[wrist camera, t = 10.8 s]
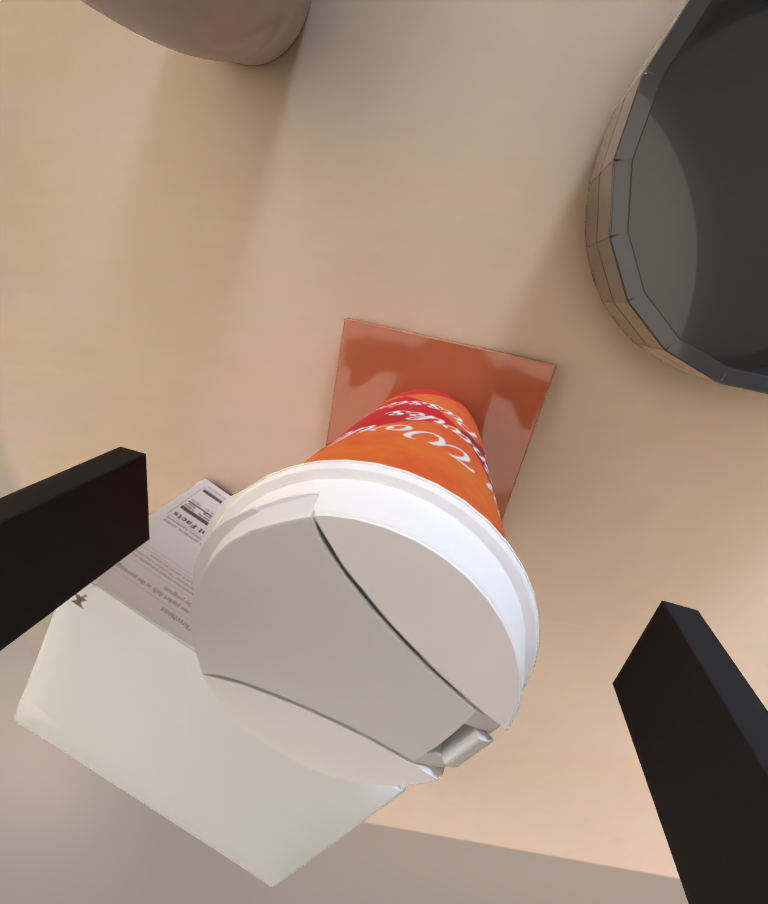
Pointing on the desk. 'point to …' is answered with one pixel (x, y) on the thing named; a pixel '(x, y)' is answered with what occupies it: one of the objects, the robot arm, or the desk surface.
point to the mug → (213, 25)
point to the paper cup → (369, 600)
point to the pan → (690, 197)
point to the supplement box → (178, 711)
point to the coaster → (444, 389)
